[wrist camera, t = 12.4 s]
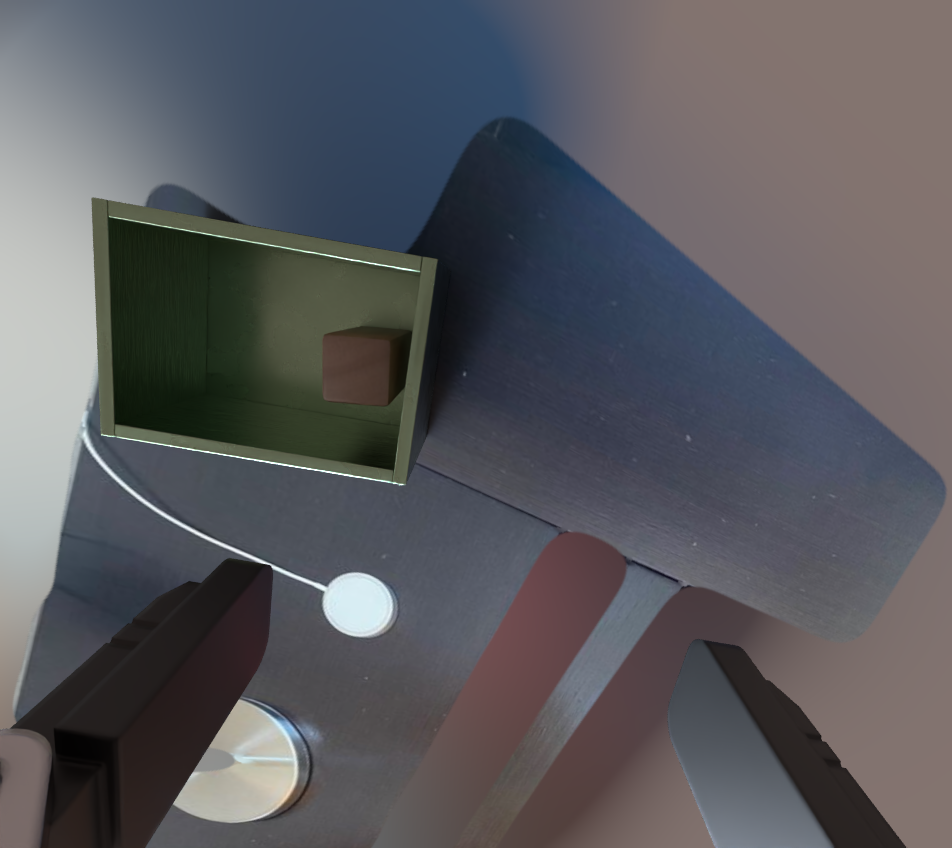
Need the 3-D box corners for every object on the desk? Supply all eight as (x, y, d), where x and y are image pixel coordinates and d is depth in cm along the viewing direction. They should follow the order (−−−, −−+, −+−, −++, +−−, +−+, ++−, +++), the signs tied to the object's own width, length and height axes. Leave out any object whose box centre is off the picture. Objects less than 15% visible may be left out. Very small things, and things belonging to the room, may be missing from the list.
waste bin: (451, 270, 33) (437, 259, 24) (426, 438, 36) (405, 485, 27) (202, 226, 33) (90, 196, 23) (199, 400, 36) (100, 435, 27)
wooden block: (410, 384, 35) (389, 408, 27) (356, 379, 35) (320, 402, 27) (413, 329, 34) (391, 338, 26) (357, 325, 34) (319, 332, 26)
